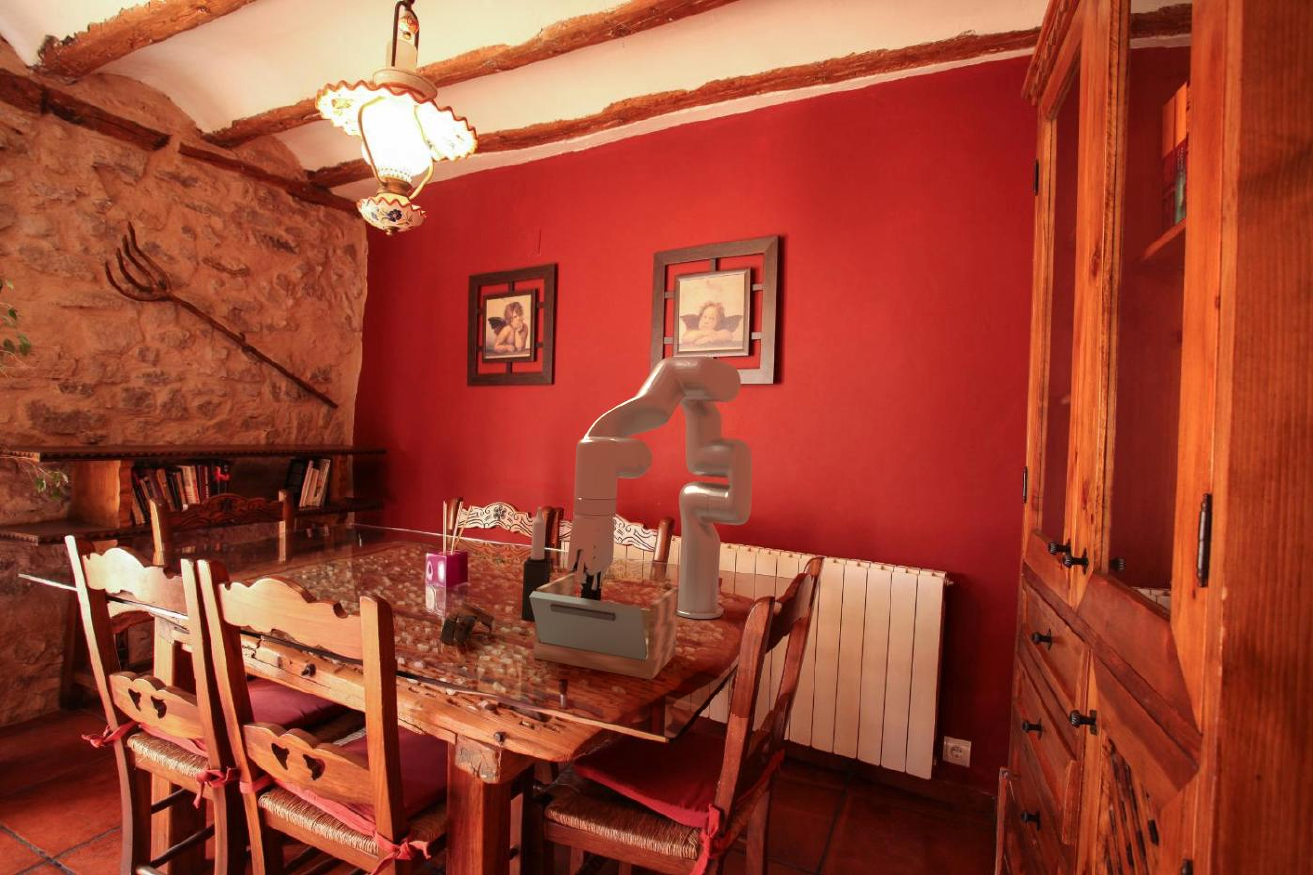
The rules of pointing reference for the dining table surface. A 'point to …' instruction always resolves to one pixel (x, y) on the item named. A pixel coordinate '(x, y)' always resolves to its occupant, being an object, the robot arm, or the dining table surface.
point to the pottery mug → (464, 623)
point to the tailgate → (589, 624)
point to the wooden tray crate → (659, 648)
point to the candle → (535, 566)
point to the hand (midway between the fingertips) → (590, 610)
